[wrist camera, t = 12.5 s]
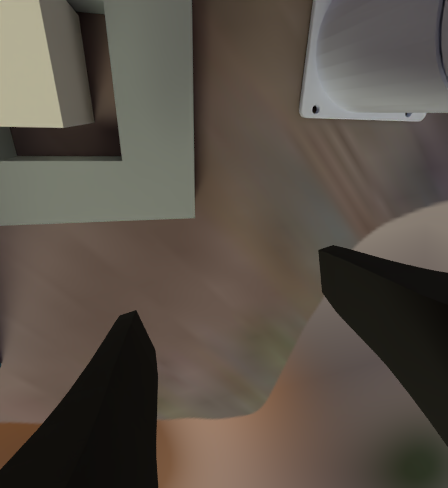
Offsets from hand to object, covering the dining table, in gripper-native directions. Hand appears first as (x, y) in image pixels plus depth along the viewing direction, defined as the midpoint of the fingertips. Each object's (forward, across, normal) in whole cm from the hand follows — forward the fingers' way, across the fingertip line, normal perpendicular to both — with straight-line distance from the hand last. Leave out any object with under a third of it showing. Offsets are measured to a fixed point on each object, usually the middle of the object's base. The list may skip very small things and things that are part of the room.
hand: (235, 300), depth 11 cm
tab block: (+10, +5, -10) cm, 15 cm away
